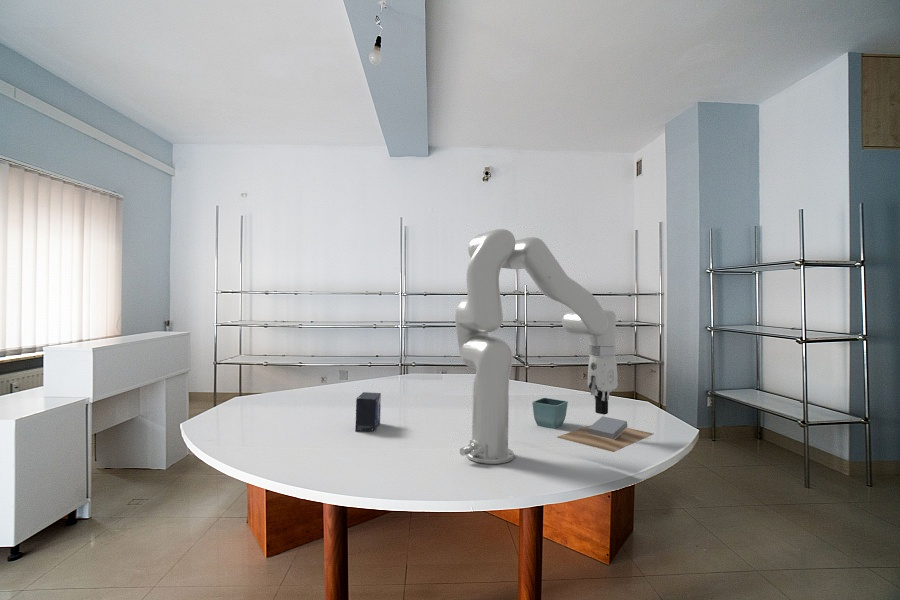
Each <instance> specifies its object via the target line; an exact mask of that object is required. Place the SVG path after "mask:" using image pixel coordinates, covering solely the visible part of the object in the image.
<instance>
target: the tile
mask: <svg viewBox="0 0 900 600" xmlns="http://www.w3.org/2000/svg"><path fill="white" fill-rule="evenodd" d="M589 426H590V425H589ZM626 428H629V427H628V421H627V420H624V419H623V420H622V419H619V418H618V419H617V418H614V417H608V416H605V415H602V416H601V417H600V418H598V420H596V421H595V422H594V423H592V424H591V426H590V427H589V428H588V432H589V435H594V436H598V437H602V438H606V439H610V440H615V439H616V438H617V437H618V436H619V435H620V434H621V433H622V432H623V431H624V430H625V429H626Z"/></svg>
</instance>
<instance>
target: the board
mask: <svg viewBox="0 0 900 600" xmlns="http://www.w3.org/2000/svg"><path fill="white" fill-rule="evenodd" d="M591 425H592V424H591ZM591 425H588V426H585V427H581V428H579V429H576V430H573V431H570V432H566V433H564V434H561V435H558V436H556V438H557V439H561V440H565V441H570V442H573V443H577V444H581V445H585V446H589V447H592V448H597V449H601V450H605V451H608V452H612V453H614V452H616V451H619V450H621V449H624V448H626V447H628V446H630V445H632V444H634V443H637V442H639V441H641V440H644V439H646V438H648V437H650V436H652V435H654V432H648V431H643V430H639V429H633V428H629V427H627V428H626V429H625V430H624V431H623V432H622V433H621V434H620V435H619V436H618V437H617V438H616V439H615V440H610V439H606V438H602V437H598V436H594V435H589V432H588V428H589V427H590V426H591Z"/></svg>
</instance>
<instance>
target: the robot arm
mask: <svg viewBox="0 0 900 600" xmlns="http://www.w3.org/2000/svg"><path fill="white" fill-rule="evenodd" d="M467 251H468V254H469V257H470V260H469V262H468V266H467V271H466V289H467V297H465V298H463V299H462V300H461V301H460V302H459V304H458V305H457V307H456V309H455V314H454V315H455V317H454V318H455V328H456V329H455V330H456V336H457V338H456V339H457V346H458V351H459V355H460V358H461V360H462V362H463V363H464V364H465V366H467V367H469V368H471V369H474V370H476V372H475V376H474V379H473V384H472V427H471V428H472V431H471V432H472V433H471V439H470V440H469V444H468V445H467V446H464V447H460V448H459V454H460V455H461V456H466V457H467V458H468V459H469V460H470V461H473V462H476V463H480V464H485V465H486V464H489V465H496V464H504V463H508V462H511V461H513V459H514V456H515V453H514V451H513V450H512V449H510V448H509V403H510V402H509V401H510V399H509V398H510V397H509V396H510V395H509V389H510V388H509V387H510V376H511V371H512V365H513V352H512V349H511V347H510V345H509V344H508V343H507V342H506V341H504V339H502V338H498V337H496V336H489V333H492V332H495V331H497V330H499V329H500V327H501V326H502V324H503V318H504V317H503V316H504V315H503V307H502V299H501V291H500V274H501V273H500V272H501V270H502V269H508V270H509V269H510V270H523V269H524V270H525V271H526V273H527V274H528V275H529V277H530V278H531V280H532V281H533V282H534V283H535V285H536V287H537V288H538V289H539V291H540V292H541V293H542V294H543V295H544V296H545V297H547V298H549V299H551V300H553V301H555V302H558V303H560V304H563V305H565V306H566V307H567V308H569V309H570V310H569V311H567V312H565V313H564V315H563V316H562V318H561V325H562V328H563V330H565V332H567V333H569V334H572V335H574V336H575V335H576V336H587V337H588V357H589V359H588V367H587V388H588V390H590V395H591V396H593V397H594V401H595V407H594V408H595V410H594V411H595V413H596V414H600V415H603V416H605V415H607V414H609V399H610V393H612V391H613V390H616V389H617V388H618V385H619V383H618V364H617V357H616V342H617V340H616V328H617V327H616V325H617V324H616V322H617V321H616V320H617V319H616V312H615V311H613V310H609V309H608V310H607V309H604V308H603V307H602V305H601V304H600V303H599V301H598V299H597V298H596V297H595V296H594V295H593V294H592V293H591V292H590V291H589V290H587V289H586V288H584V287H583V286H582V285H581V284H579V283H578V282H577V281H576V280H574V279H572V278H571V277H570V276H568V274H567V273H566V271H565V270H564V268H563V267H562V265H560V263H559V261H558V260H557V259H556V257H555V256H554V254H553V253H552V251H551V250H550V249H549V246H547V244H546V243H545V242H544V241H543V240H542V239H541V238H539V237H535V236H531V237H530V236H529V237H525V238H520V239H516V237H515V235H514V234H513V232H511V231H510V230H508V229H504V228H499V229H492V230H490V231H487V232H483V233H479V234H477V235H475V236H474V237H473V238H471V240H470V241H469V243H468V249H467Z"/></svg>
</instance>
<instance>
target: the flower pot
mask: <svg viewBox="0 0 900 600" xmlns="http://www.w3.org/2000/svg"><path fill="white" fill-rule="evenodd" d="M568 403H569V401H568V400H562V399H555V398H551V397H550V398H549V397H541V398H538V399H536V400H534V401H532V412H533V419H534V421H535V424H536V426H538V427H544V428H548V429H557V428H559V427H561V426H562V425H563V424H564V422H565V419H566V416H567V410H568V405H569V404H568Z"/></svg>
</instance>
